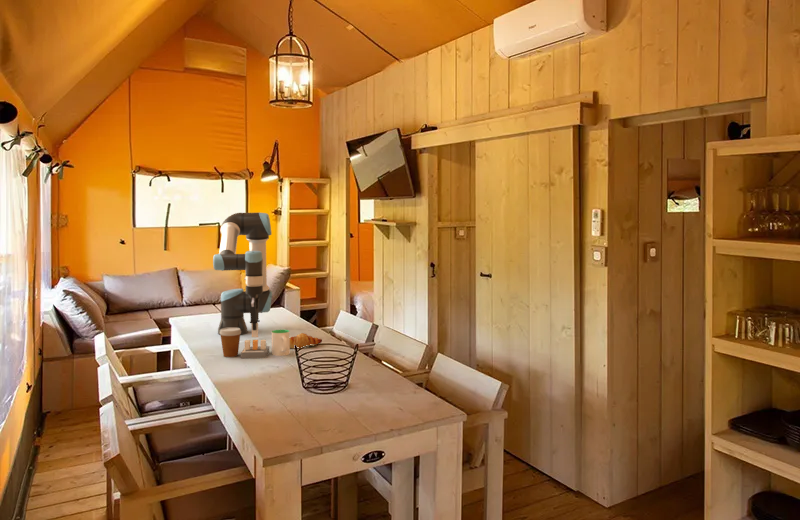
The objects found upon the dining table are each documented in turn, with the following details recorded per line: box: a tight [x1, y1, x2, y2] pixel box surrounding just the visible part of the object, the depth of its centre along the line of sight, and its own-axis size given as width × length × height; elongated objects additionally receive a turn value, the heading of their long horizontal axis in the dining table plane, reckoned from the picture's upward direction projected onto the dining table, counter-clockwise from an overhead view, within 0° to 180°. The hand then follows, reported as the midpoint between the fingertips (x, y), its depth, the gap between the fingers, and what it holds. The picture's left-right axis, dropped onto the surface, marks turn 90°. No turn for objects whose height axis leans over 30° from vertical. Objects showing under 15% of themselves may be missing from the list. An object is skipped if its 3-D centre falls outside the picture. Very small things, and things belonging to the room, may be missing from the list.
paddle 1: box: [244, 339, 251, 350], centre depth 268 cm, size 3×2×4 cm, turn 6°
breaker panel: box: [240, 345, 270, 359], centre depth 269 cm, size 12×11×3 cm
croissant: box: [290, 332, 323, 350], centre depth 286 cm, size 21×10×8 cm
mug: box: [271, 329, 291, 357], centre depth 270 cm, size 12×8×10 cm, turn 31°
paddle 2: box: [252, 339, 259, 350], centre depth 269 cm, size 3×2×4 cm, turn 6°
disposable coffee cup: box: [219, 327, 242, 358], centre depth 267 cm, size 10×10×12 cm
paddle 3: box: [260, 339, 267, 350], centre depth 269 cm, size 3×2×4 cm, turn 6°
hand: (254, 336), depth 268 cm, fingers closed
